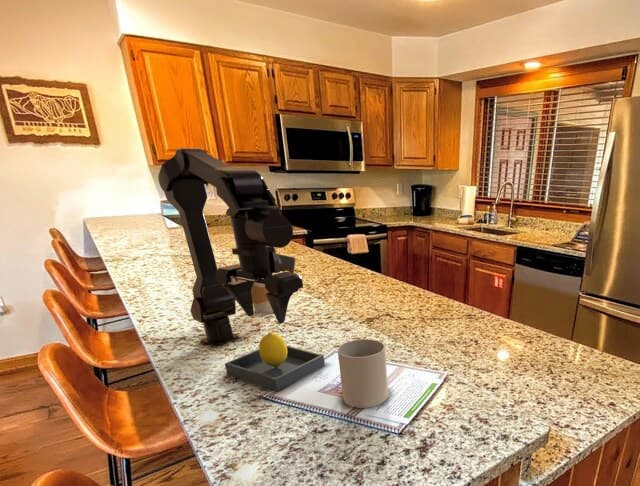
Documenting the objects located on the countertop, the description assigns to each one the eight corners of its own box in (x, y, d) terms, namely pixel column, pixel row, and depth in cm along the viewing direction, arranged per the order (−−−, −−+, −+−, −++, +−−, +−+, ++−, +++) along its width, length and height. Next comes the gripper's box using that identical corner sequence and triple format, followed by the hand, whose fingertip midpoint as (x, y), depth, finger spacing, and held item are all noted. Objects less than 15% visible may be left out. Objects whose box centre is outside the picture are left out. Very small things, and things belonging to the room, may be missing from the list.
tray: (227, 374, 90) (224, 363, 89) (276, 352, 100) (274, 342, 99) (277, 391, 83) (275, 379, 82) (325, 365, 93) (323, 355, 92)
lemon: (281, 374, 88) (275, 338, 85) (257, 371, 89) (250, 336, 86) (294, 363, 93) (289, 328, 90) (271, 361, 94) (265, 327, 91)
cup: (367, 412, 75) (363, 361, 71) (333, 400, 79) (327, 351, 75) (396, 392, 82) (394, 344, 78) (363, 382, 86) (359, 336, 82)
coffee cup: (286, 309, 130) (278, 259, 123) (263, 316, 123) (253, 265, 117) (269, 305, 134) (260, 256, 128) (245, 312, 127) (235, 262, 121)
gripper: (318, 239, 83) (327, 315, 90) (253, 232, 92) (266, 302, 98) (272, 248, 74) (286, 332, 81) (206, 240, 83) (223, 316, 89)
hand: (266, 319), depth 88 cm, fingers open, 9 cm apart
